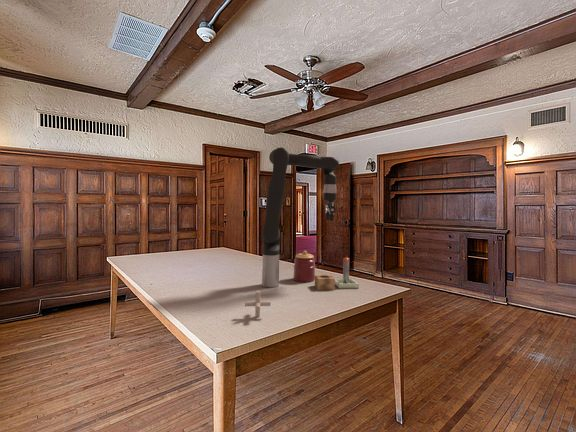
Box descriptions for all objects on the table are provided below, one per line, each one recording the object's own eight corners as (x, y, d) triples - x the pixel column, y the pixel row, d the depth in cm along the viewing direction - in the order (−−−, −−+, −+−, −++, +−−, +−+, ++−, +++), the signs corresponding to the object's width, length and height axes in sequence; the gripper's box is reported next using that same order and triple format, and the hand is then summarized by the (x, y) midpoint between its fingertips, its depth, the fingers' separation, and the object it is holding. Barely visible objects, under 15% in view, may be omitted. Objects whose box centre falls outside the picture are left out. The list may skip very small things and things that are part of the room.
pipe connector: (245, 312, 125) (245, 288, 125) (269, 312, 126) (270, 288, 125) (244, 321, 115) (244, 295, 115) (270, 321, 116) (271, 295, 116)
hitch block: (318, 290, 160) (318, 278, 160) (314, 285, 169) (314, 274, 169) (334, 289, 162) (334, 278, 161) (330, 285, 171) (330, 274, 170)
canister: (308, 283, 173) (309, 252, 173) (289, 280, 180) (289, 250, 180) (318, 279, 184) (319, 250, 184) (300, 276, 191) (301, 248, 191)
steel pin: (343, 285, 168) (344, 258, 168) (342, 284, 171) (342, 257, 171) (349, 285, 169) (350, 258, 168) (347, 284, 172) (348, 257, 171)
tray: (339, 288, 164) (339, 284, 164) (333, 283, 175) (333, 279, 175) (358, 288, 165) (358, 283, 165) (352, 283, 176) (352, 278, 176)
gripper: (320, 192, 183) (320, 219, 183) (326, 191, 169) (326, 221, 169) (333, 193, 184) (332, 220, 184) (339, 192, 170) (339, 221, 170)
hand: (329, 220), depth 177 cm, fingers open, 8 cm apart
